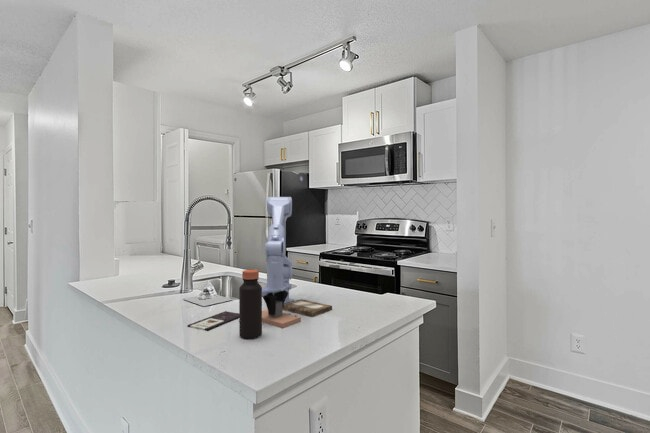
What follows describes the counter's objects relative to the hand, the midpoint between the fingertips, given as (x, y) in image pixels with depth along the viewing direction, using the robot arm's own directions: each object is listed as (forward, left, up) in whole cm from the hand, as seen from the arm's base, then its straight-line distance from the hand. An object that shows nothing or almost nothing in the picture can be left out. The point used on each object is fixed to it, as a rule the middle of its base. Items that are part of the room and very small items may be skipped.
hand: (275, 313), depth 127 cm
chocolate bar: (-15, -13, -3) cm, 20 cm away
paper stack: (-46, -3, -3) cm, 46 cm away
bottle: (+5, -15, -3) cm, 16 cm away
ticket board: (0, +17, -2) cm, 17 cm away
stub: (0, 0, -2) cm, 2 cm away
